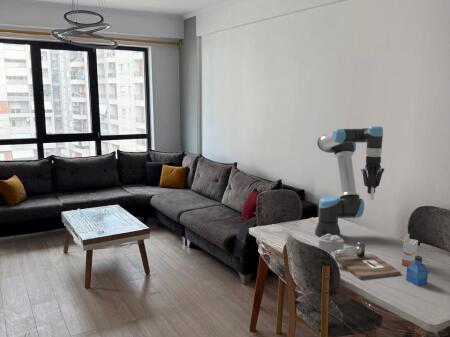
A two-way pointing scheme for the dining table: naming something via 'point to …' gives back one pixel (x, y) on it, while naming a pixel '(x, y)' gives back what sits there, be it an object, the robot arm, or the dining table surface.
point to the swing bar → (350, 251)
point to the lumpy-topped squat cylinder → (330, 243)
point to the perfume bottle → (417, 272)
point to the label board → (367, 266)
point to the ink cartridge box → (409, 250)
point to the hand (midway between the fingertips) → (370, 199)
